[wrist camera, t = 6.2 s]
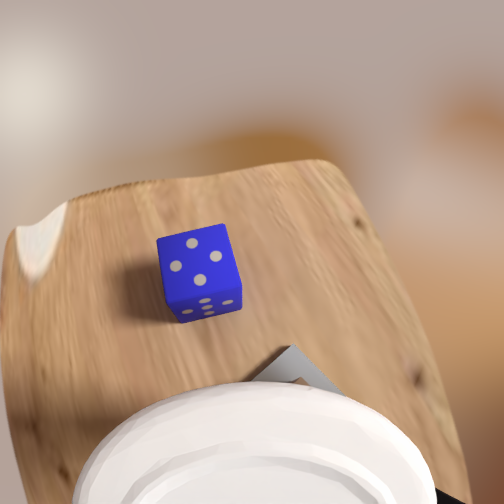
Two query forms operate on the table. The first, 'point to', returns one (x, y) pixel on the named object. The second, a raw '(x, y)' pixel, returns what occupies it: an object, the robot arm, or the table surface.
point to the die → (199, 273)
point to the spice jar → (256, 452)
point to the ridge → (296, 371)
